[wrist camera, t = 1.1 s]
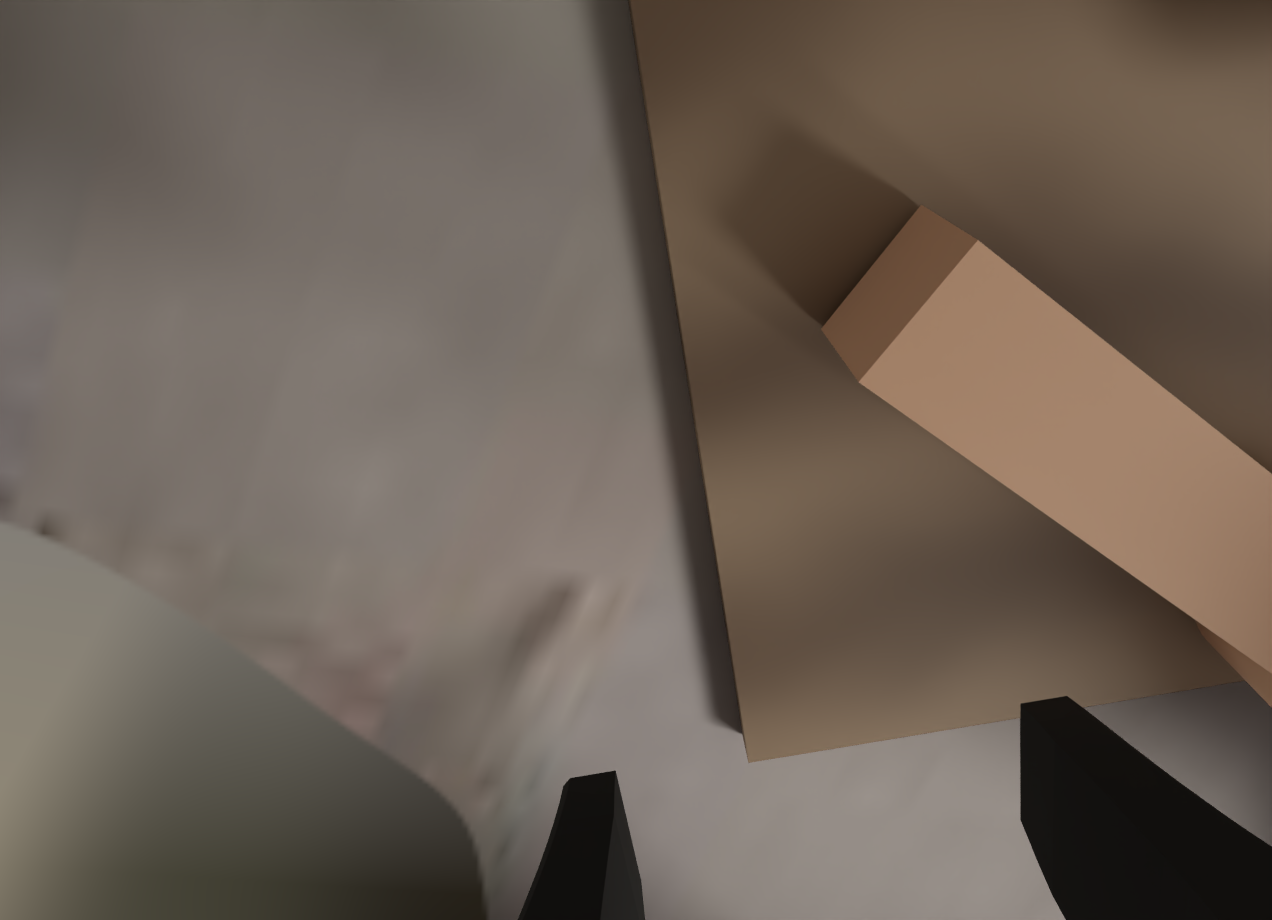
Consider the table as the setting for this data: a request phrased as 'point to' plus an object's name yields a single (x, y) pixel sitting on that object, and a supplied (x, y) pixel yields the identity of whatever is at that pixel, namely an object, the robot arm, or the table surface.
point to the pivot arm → (1067, 428)
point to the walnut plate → (1021, 236)
